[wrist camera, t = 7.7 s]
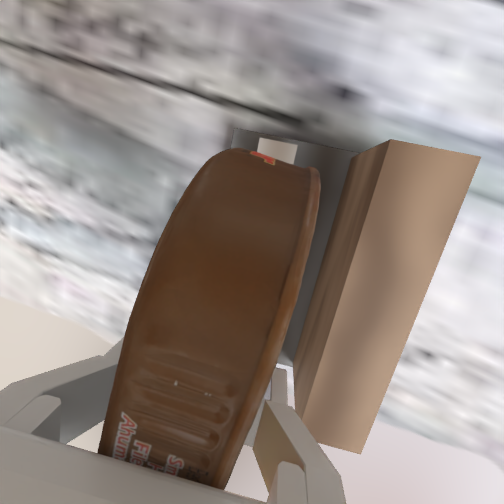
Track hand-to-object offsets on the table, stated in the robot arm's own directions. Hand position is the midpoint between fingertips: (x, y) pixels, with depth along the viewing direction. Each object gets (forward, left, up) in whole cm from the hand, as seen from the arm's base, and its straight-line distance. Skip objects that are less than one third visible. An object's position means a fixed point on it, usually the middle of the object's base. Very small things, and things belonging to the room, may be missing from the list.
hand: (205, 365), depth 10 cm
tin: (+1, 0, -4) cm, 4 cm away
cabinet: (-4, 0, -19) cm, 20 cm away
